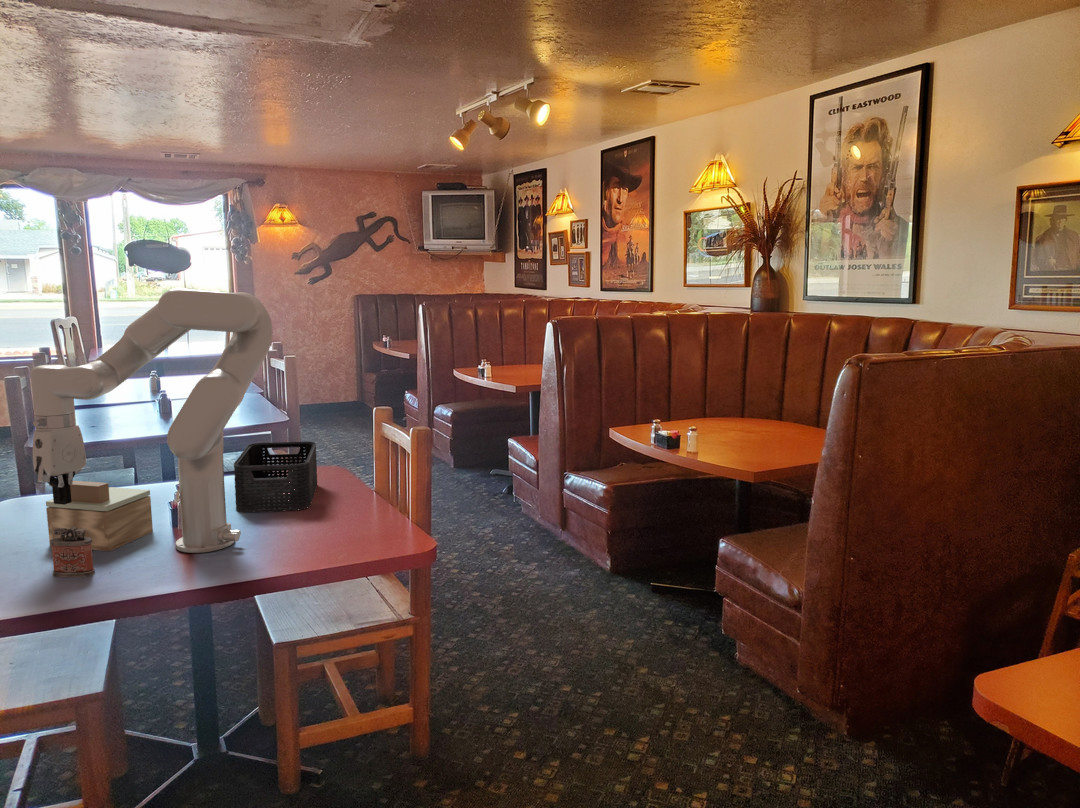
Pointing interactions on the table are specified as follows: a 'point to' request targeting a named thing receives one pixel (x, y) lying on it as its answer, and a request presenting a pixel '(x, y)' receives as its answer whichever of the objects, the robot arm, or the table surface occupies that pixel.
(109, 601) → the table surface
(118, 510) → the wooden box
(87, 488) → the lid
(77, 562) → the lighter
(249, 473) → the storage bin
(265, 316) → the robot arm
